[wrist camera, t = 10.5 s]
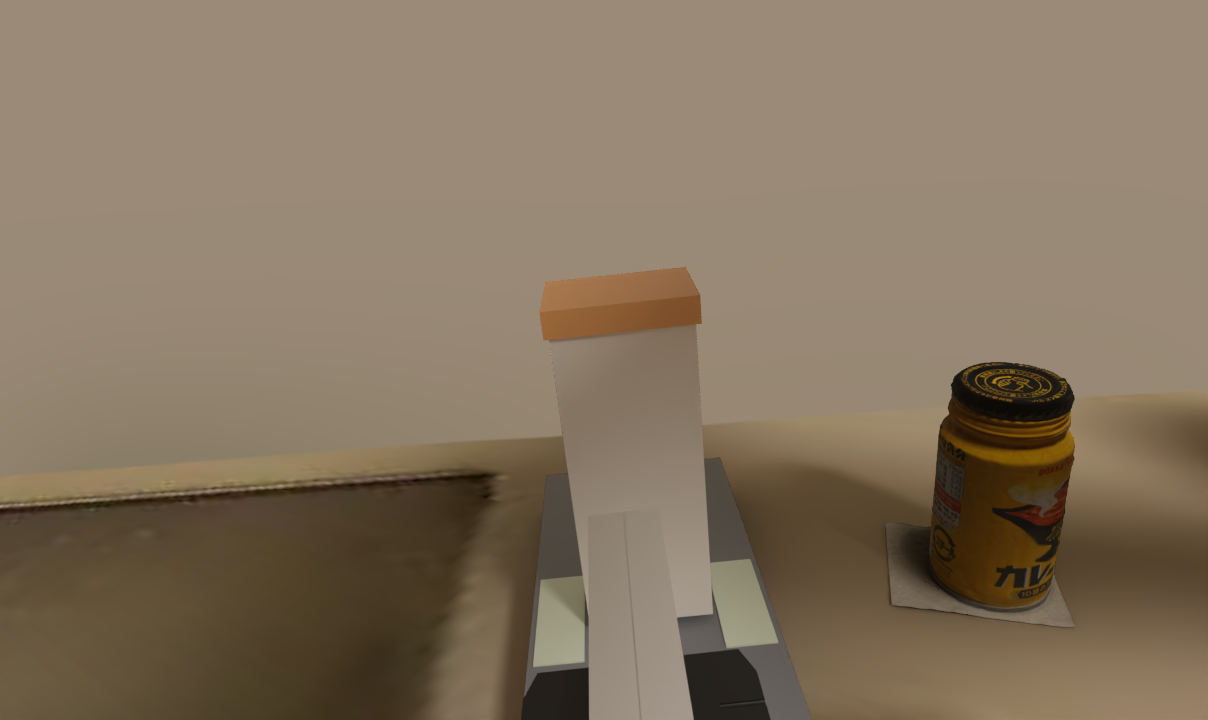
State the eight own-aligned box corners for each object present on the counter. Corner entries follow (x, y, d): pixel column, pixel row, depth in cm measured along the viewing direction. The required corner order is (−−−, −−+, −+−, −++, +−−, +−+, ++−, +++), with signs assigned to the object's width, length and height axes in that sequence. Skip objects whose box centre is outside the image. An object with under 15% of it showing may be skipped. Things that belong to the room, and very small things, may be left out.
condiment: (1075, 630, 35) (1115, 415, 31) (891, 607, 38) (904, 406, 33) (1039, 540, 41) (1069, 351, 37) (884, 526, 44) (894, 348, 40)
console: (896, 1031, 21) (901, 974, 20) (506, 1065, 22) (491, 1011, 21) (721, 492, 49) (720, 456, 48) (551, 509, 50) (546, 474, 48)
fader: (717, 616, 34) (700, 295, 28) (585, 629, 34) (539, 312, 28) (703, 558, 38) (685, 266, 32) (585, 570, 38) (545, 282, 32)
